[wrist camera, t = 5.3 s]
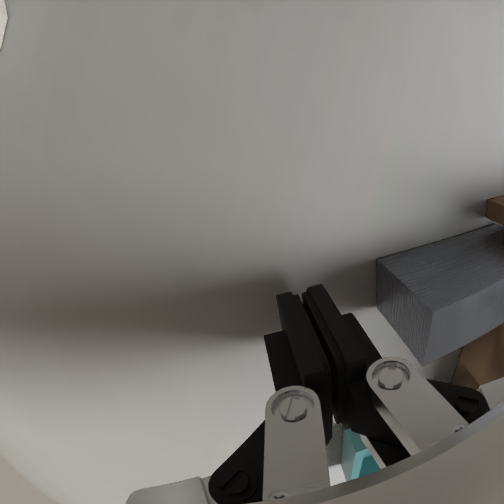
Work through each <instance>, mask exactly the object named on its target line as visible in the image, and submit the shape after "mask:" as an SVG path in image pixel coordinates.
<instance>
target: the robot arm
mask: <svg viewBox="0 0 504 504" xmlns="http://www.w3.org/2000/svg"><path fill="white" fill-rule="evenodd" d="M306 291H307V292H304V293H302V300H303V304H302V302H301V300H300V298H299V295H298V294H296V295H292V292H287V293H283V294H279V295H276V299H277V304H278V309H279V314H280V320H281V325H282V330H283V331H279V332H275V333H271V334H267V335H264V340H265V344H266V349H267V353H268V358H269V363H270V367H271V372H272V376H273V381H274V386H275V390H276V392H275V393H274V394H273V395H272V396H271V397H270V398H269V400H268V401H267V404H266V408H265V420H264V421H263V423H262V424H261V425H260V426H259V427H258V428H257V429H256V430H255V431H254V432H253V433H252V434H251V436H250V437H249V438H248V439H247V440H246V441H245V442H244V443H243V444H242V445H241V446H240V447H239V448H238V449H237V450H236V451H235V452H234V453H233V454H232V455H231V456H230V457H229V458H228V459H227V460H226V461H225V462H224V463H223V464H222V465H221V466H220V467H219V468H218V469H217V470H216V471H215V472H214V473H213V474H212V476H208V477H205V478H200V477H195V478H191V479H187V480H183V481H179V482H174V483H170V484H165V485H160V486H155V487H149V488H144V489H140V490H137V491H135V492H133V493H132V494H131V495H130V496H129V498H128V500H127V501H126V504H504V377H502V378H500V379H497V380H494V381H492V382H489V383H486V384H483V385H481V386H480V387H479V389H477V390H476V389H473V388H470V387H464V386H459V385H453V384H448V383H443V382H438V381H433V380H429V379H425V378H424V377H423V376H422V375H421V374H420V373H419V372H418V371H417V370H416V369H415V368H414V367H413V366H412V365H411V364H410V363H409V362H408V361H406V360H404V359H401V358H398V357H386V358H382V357H381V355H380V354H379V352H378V351H377V349H376V348H375V346H374V345H373V343H372V342H371V340H370V339H369V337H368V336H367V334H366V333H365V331H364V330H363V328H362V327H361V325H360V324H359V322H358V321H357V319H356V318H355V316H354V315H353V314H352V313H347V314H344V315H341V313H340V312H339V310H338V309H337V307H336V305H335V304H334V302H333V301H332V299H331V297H330V296H329V294H328V293H327V291H326V290H325V288H324V286H323V285H322V284H320V285H316V286H312V287H308V288H307V290H306ZM333 416H334V419H335V421H336V423H337V424H339V423H342V424H343V426H344V429H345V430H347V429H351V431H352V432H355V433H358V434H360V437H361V439H362V441H363V443H364V444H365V446H366V447H367V449H368V450H369V452H370V453H371V455H372V457H373V458H374V460H375V461H376V463H377V464H378V466H379V467H380V470H378V471H375V472H372V473H370V474H367V475H364V476H362V477H359V478H356V479H353V480H350V481H347V482H343V483H340V484H337V485H334V486H330V478H329V469H328V460H327V452H326V446H327V444H328V443H329V441H330V440H331V438H332V425H333Z"/></svg>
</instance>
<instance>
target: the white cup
mask: <svg viewBox="0 0 504 504" xmlns="http://www.w3.org/2000/svg"><path fill="white" fill-rule="evenodd" d="M7 19H8V16H7V10H6V5H5V0H0V49H1V46H2V41H3V37H4V32H5V28H6V23H7Z"/></svg>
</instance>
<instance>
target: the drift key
mask: <svg viewBox="0 0 504 504" xmlns="http://www.w3.org/2000/svg"><path fill="white" fill-rule="evenodd" d="M377 308H378V310H379V311H380V312H381V313H382V315H383V316H384V317H385V318H386V320H387V321H388V322H389V323H390V325H391V326H392V327H393V329H394V330H395V331H396V332H397V334H398V335H399V336H400V337H401V339H402V340H403V341H404V343H405V344H406V345H407V347H408V348H409V349H410V350H411V352H412V353H413V354H414V356H415V357H416V358H417V360H418V361H419V362H420V364H421V365H422V366H424V365H426V364H428V363H430V362H432V361H434V360H437V359H439V358H441V357H443V356H445V355H447V354H449V353H451V352H453V351H455V350H457V349H458V348H460V347H462V346H464V345H466V344H468V343H470V342H471V341H473V340H475V339H477V338H479V337H480V336H482V335H484V334H485V333H487V332H489V331H491V330H492V329H494V328H495V327H497V326H499V325H500V324H502V323H503V322H504V226H502V225H500V224H498V223H496V224H493V225H490V226H487V227H484V228H481V229H478V230H474V231H471V232H468V233H465V234H462V235H458V236H455V237H452V238H449V239H445V240H442V241H439V242H435V243H432V244H429V245H425V246H422V247H418V248H415V249H411V250H408V251H404V252H401V253H397V254H394V255H390V256H387V257H383V258H379V259H377Z"/></svg>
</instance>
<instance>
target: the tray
mask: <svg viewBox="0 0 504 504" xmlns="http://www.w3.org/2000/svg"><path fill="white" fill-rule="evenodd" d="M341 466H342V469H343V472H344V475H345V478H346V481H350V480H353V479H356V478H359V477H362V476H364V475H367V474H370V473H372V472H375V471H378V470H380V467H379V466H378V464H377V463H376V461H375V460H374V458H373V457H372V455H371V453H370V452H369V450H368V449H367V447H366V446H365V444H364V443H363V441H362V439H361V437H360V434H358V433H355V432H352V431H351V429H347V430H345V429H344V426H343V442H342V456H341Z"/></svg>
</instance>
